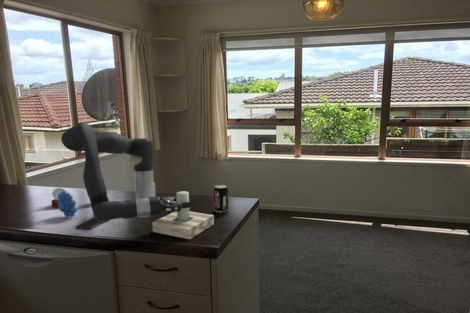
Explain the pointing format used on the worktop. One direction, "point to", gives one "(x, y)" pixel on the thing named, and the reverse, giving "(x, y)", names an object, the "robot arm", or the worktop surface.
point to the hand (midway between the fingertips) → (187, 201)
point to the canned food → (56, 197)
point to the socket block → (183, 225)
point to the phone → (89, 224)
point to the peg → (184, 212)
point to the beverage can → (220, 198)
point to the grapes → (66, 204)
